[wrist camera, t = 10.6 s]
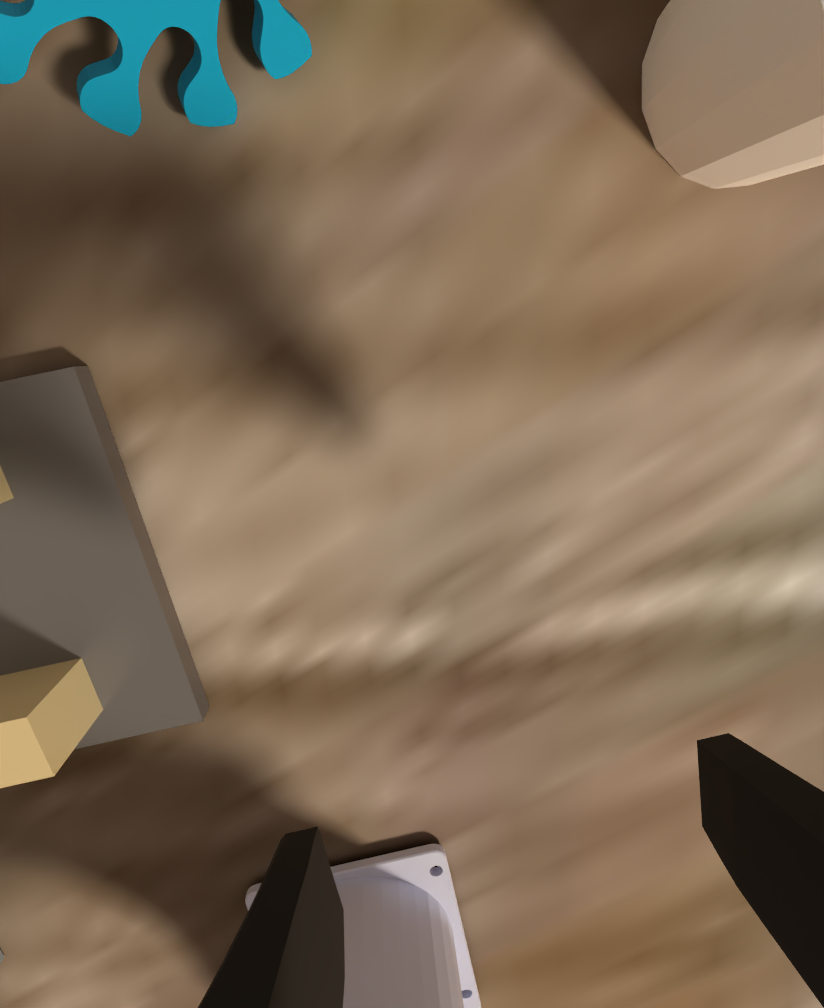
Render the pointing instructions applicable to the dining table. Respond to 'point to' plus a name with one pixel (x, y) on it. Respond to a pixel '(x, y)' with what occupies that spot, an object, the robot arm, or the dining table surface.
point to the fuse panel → (78, 587)
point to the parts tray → (1, 956)
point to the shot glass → (736, 89)
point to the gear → (138, 21)
